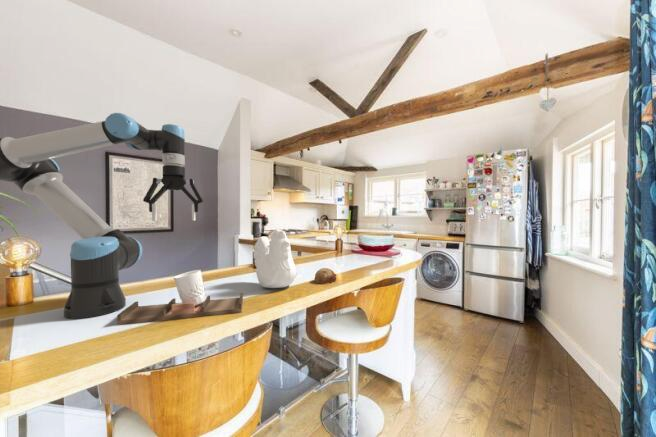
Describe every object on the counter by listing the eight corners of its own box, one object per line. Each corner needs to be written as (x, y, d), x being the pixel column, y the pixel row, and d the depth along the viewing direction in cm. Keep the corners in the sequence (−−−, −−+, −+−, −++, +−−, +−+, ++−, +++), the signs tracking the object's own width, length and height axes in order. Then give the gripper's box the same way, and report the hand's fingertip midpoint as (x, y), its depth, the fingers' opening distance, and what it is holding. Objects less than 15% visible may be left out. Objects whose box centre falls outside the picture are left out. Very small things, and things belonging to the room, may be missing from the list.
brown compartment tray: (117, 324, 74) (117, 310, 74) (135, 310, 86) (135, 297, 86) (241, 312, 83) (241, 299, 83) (242, 300, 95) (242, 289, 95)
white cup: (196, 307, 81) (188, 276, 81) (175, 310, 83) (167, 279, 82) (213, 296, 89) (205, 268, 88) (193, 299, 91) (186, 271, 90)
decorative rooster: (303, 288, 111) (303, 229, 111) (268, 294, 102) (267, 230, 102) (278, 277, 131) (277, 227, 131) (246, 281, 122) (246, 228, 122)
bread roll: (315, 287, 126) (308, 272, 125) (333, 276, 130) (326, 262, 128) (322, 292, 117) (315, 277, 116) (341, 280, 121) (334, 265, 119)
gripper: (132, 162, 96) (133, 221, 96) (207, 165, 103) (207, 220, 103) (140, 166, 103) (141, 220, 103) (210, 169, 110) (210, 220, 110)
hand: (174, 220), depth 103 cm, fingers open, 13 cm apart
